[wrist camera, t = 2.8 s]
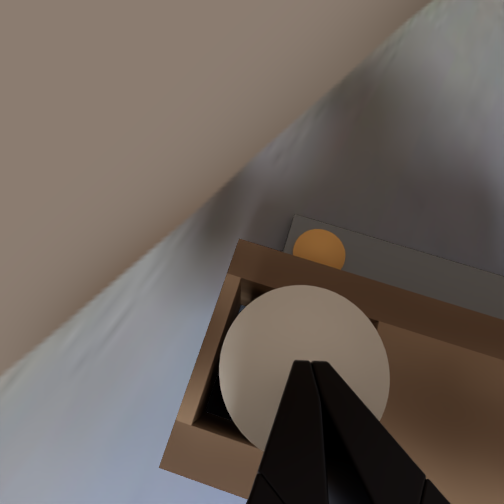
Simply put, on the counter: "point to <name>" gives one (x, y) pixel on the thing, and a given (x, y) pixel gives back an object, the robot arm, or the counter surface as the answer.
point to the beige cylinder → (297, 353)
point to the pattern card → (397, 266)
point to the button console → (400, 391)
